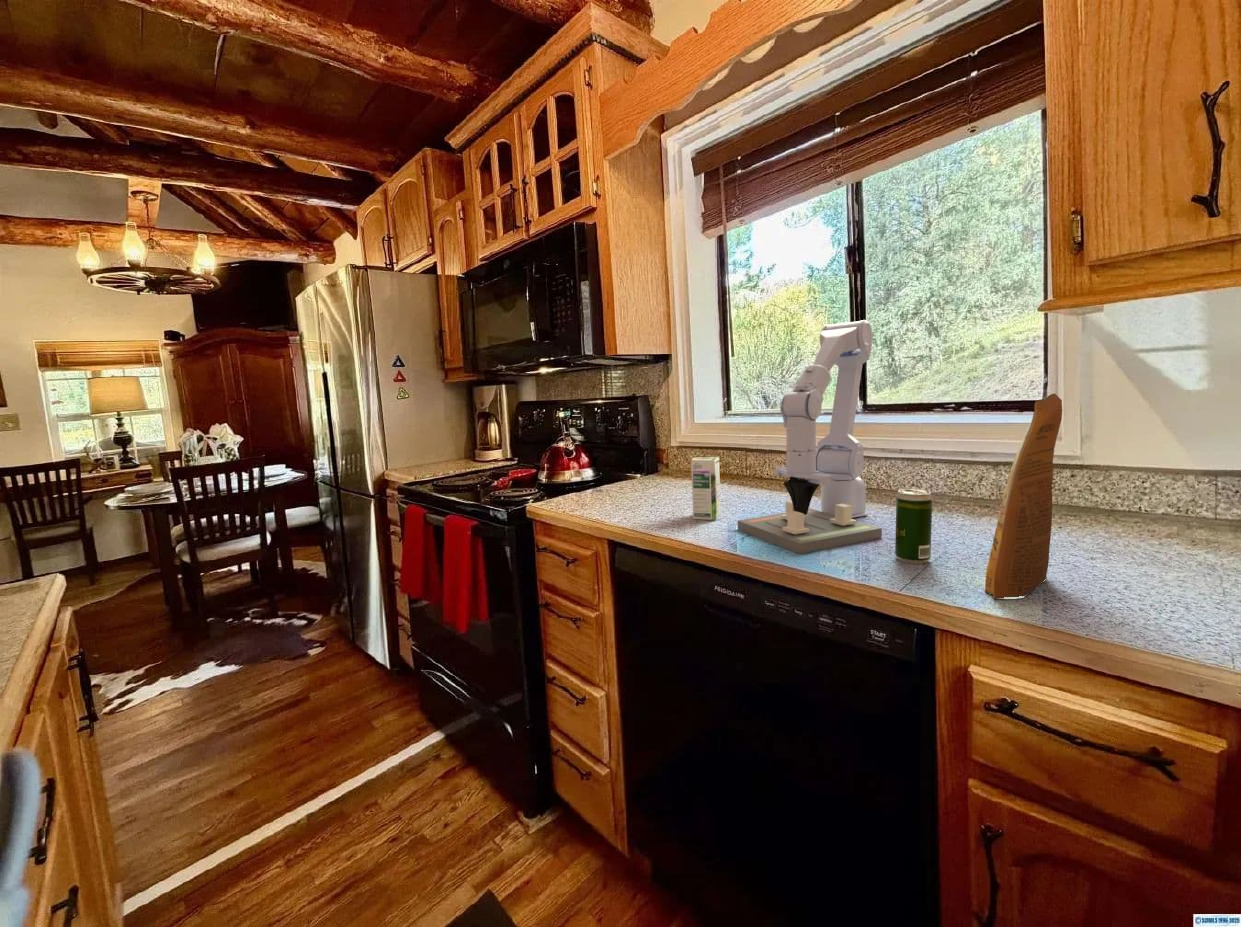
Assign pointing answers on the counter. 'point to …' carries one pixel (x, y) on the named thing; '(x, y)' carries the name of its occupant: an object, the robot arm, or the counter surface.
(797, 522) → the breaker handle
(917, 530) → the beer can
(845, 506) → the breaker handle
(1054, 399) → the pancake mix bag
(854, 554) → the counter surface
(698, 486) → the syrup box
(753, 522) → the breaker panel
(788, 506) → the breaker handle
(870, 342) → the robot arm
